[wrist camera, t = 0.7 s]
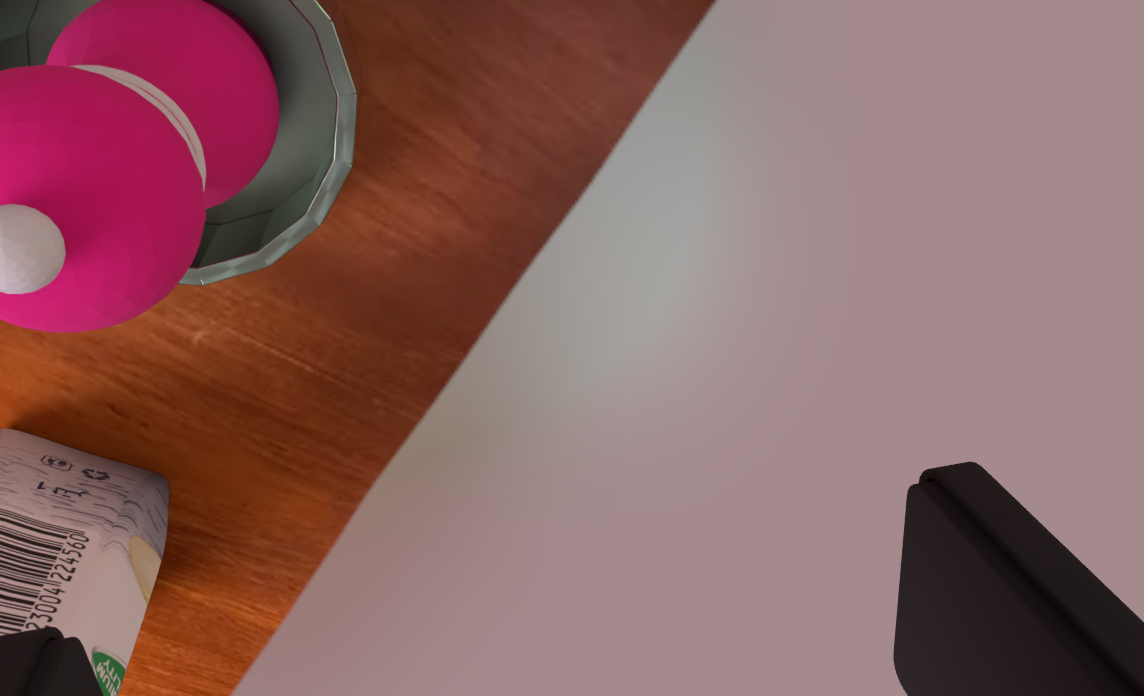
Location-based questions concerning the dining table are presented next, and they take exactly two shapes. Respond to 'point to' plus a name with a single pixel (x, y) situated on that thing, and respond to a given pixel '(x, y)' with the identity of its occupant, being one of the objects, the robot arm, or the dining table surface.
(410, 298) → the dining table surface
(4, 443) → the juice carton
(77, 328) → the pepper mill
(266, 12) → the pan
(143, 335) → the dining table surface
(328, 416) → the dining table surface
